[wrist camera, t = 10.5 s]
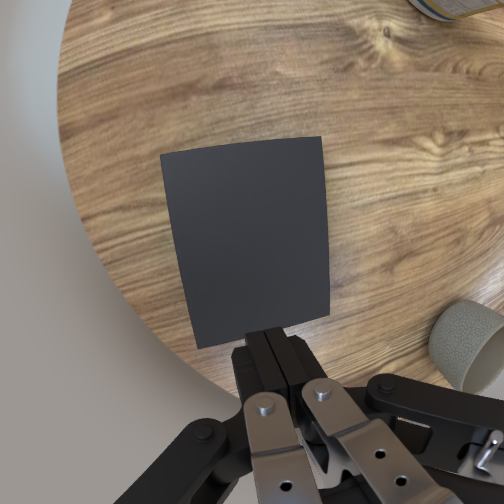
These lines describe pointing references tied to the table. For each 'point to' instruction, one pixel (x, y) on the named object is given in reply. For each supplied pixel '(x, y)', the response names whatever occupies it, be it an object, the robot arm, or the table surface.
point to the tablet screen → (250, 235)
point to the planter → (468, 346)
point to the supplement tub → (455, 8)
